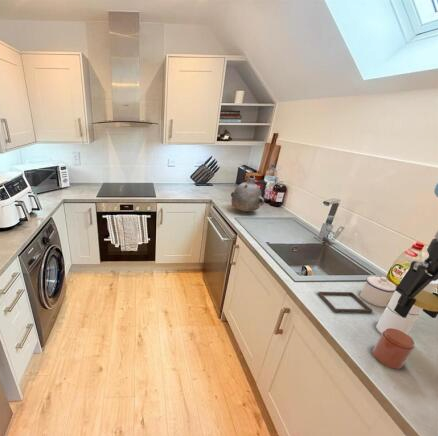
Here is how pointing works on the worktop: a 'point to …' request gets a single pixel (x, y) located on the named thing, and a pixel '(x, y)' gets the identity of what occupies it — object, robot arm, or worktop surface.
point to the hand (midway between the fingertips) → (414, 313)
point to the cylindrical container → (394, 319)
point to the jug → (247, 196)
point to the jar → (393, 348)
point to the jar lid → (426, 301)
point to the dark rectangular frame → (366, 310)
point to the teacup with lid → (378, 291)
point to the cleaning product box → (260, 186)
